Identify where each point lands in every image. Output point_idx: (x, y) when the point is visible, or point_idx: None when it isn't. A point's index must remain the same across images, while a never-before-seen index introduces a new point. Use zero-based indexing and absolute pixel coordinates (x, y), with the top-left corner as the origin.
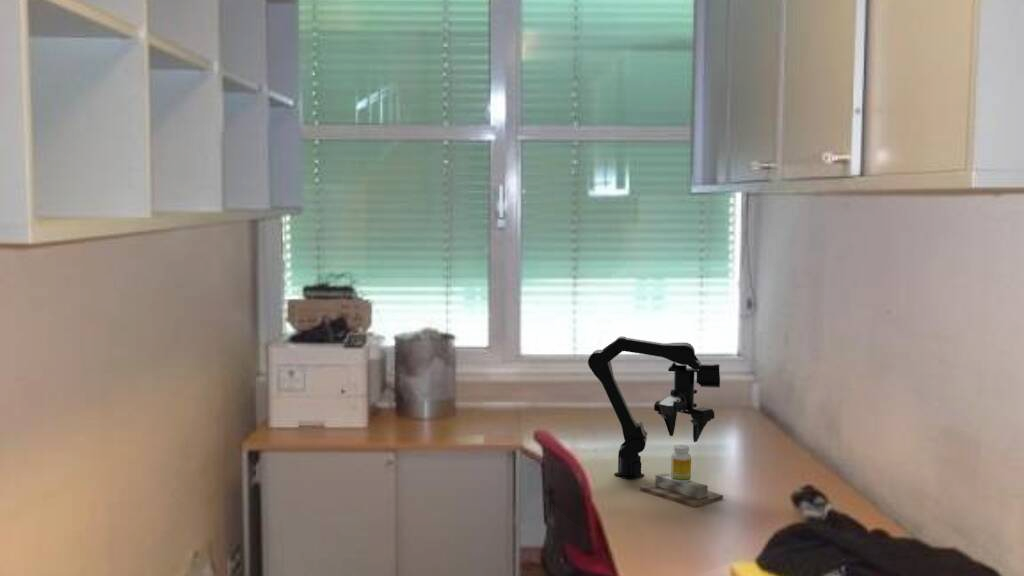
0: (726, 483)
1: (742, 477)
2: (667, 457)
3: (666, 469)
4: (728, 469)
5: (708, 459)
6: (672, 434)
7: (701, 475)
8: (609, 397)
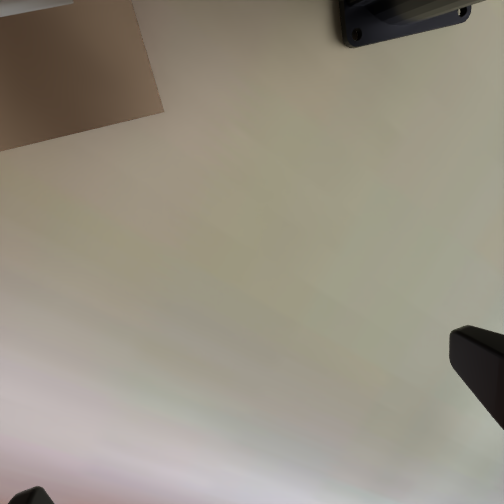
0: (35, 402)
1: (113, 492)
2: None
3: (378, 248)
4: (245, 480)
5: (390, 459)
6: (463, 366)
7: (216, 351)
8: None
